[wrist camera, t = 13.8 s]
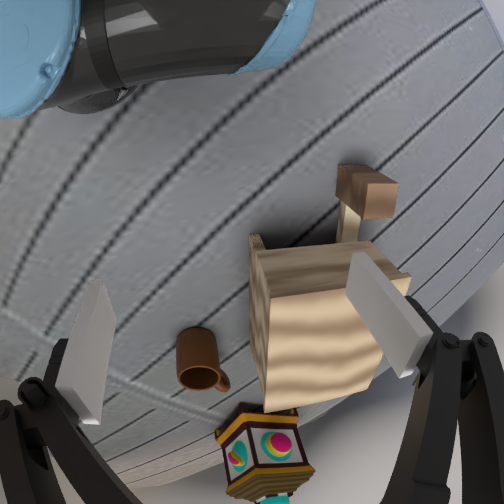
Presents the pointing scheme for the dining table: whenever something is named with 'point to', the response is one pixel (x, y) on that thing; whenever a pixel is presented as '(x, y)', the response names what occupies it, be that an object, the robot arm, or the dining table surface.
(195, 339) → the mug
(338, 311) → the cabinet
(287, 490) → the decorative lantern
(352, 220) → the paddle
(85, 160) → the dining table surface
